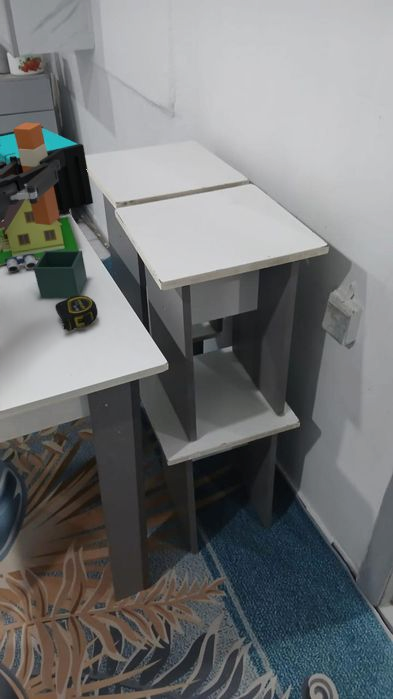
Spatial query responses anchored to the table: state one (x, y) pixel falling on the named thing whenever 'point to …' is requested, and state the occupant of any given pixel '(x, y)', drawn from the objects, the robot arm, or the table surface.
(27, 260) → the ultrasonic sensor
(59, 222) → the house model
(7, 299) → the table surface
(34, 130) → the block
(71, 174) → the electronic device
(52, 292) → the open box
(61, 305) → the tape measure
